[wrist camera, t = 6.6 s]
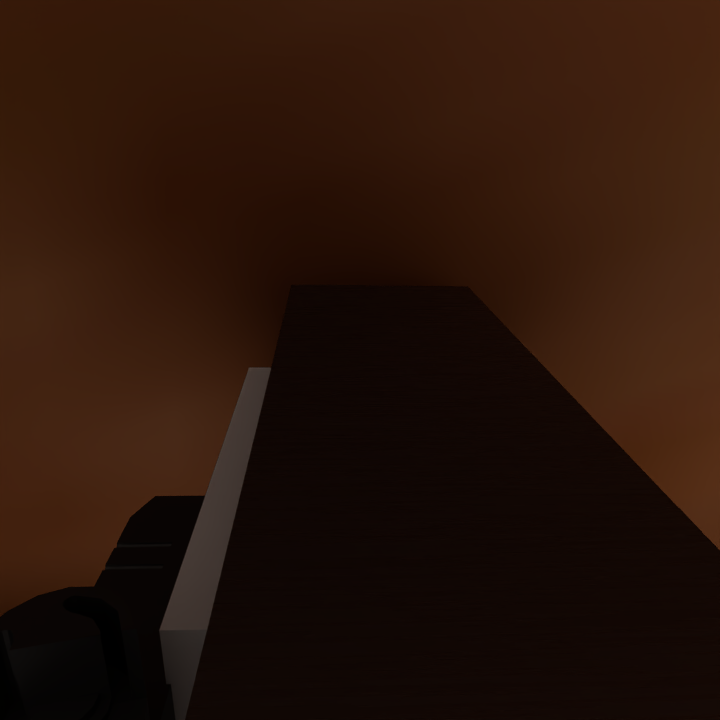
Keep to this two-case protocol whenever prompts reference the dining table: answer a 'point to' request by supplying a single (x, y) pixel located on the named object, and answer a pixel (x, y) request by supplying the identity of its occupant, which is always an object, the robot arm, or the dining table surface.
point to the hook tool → (447, 536)
